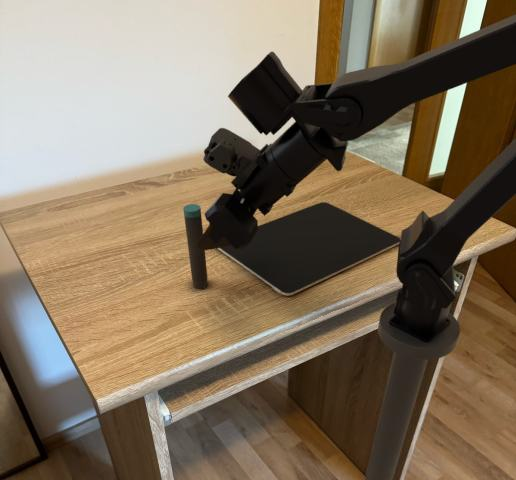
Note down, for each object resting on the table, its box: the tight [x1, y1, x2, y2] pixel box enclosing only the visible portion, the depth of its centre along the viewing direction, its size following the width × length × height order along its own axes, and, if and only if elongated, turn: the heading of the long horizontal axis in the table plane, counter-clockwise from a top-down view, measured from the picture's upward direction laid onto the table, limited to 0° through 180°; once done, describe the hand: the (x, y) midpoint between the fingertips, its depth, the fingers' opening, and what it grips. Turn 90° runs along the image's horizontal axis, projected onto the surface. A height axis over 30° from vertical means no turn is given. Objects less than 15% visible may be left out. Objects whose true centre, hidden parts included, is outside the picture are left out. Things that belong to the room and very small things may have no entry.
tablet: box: [217, 201, 401, 297], centre depth 85 cm, size 27×1×20 cm
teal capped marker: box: [183, 203, 209, 290], centre depth 72 cm, size 2×2×13 cm
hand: (209, 231), depth 70 cm, fingers open, 9 cm apart
